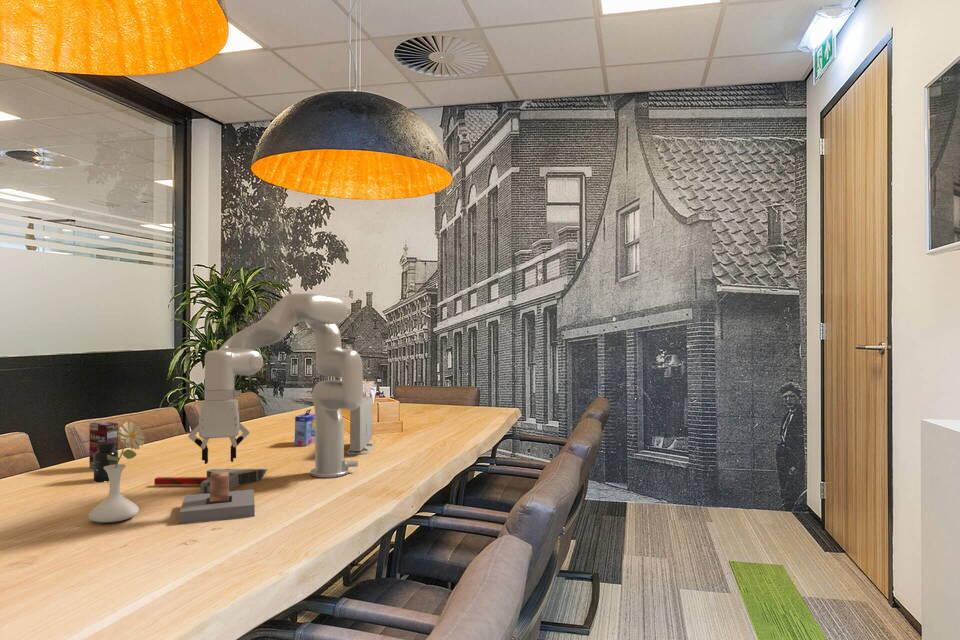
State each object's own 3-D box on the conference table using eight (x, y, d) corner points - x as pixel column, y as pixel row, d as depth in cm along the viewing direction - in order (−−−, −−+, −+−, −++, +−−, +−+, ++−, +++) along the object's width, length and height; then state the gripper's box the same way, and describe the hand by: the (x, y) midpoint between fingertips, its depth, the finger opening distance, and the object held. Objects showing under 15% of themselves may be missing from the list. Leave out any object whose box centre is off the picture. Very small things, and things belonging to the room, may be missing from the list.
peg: (228, 507, 172) (228, 471, 172) (228, 512, 168) (228, 475, 168) (210, 509, 170) (210, 473, 170) (209, 514, 166) (209, 477, 166)
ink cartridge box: (306, 446, 256) (306, 411, 256) (293, 446, 257) (294, 411, 257) (316, 442, 266) (316, 408, 266) (304, 441, 266) (304, 407, 266)
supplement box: (88, 468, 216) (88, 423, 216) (101, 465, 220) (101, 421, 220) (105, 471, 213) (105, 424, 213) (118, 468, 217) (118, 422, 217)
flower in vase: (102, 529, 154) (103, 428, 154) (79, 521, 160) (80, 424, 160) (154, 515, 165) (154, 421, 165) (130, 508, 171) (131, 417, 171)
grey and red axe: (177, 464, 209) (267, 464, 210) (177, 475, 209) (267, 475, 210) (140, 482, 185) (242, 482, 186) (140, 495, 185) (242, 495, 186)
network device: (365, 456, 238) (365, 404, 238) (342, 456, 238) (343, 404, 238) (377, 443, 263) (377, 396, 263) (356, 443, 263) (357, 396, 263)
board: (253, 499, 180) (253, 489, 180) (254, 516, 165) (254, 504, 165) (185, 506, 173) (185, 495, 173) (179, 523, 158) (179, 511, 158)
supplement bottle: (88, 480, 200) (89, 443, 200) (110, 476, 206) (110, 440, 206) (101, 483, 197) (101, 445, 197) (122, 478, 203) (122, 442, 203)
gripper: (253, 393, 176) (252, 456, 176) (185, 395, 169) (185, 461, 169) (253, 396, 169) (253, 462, 168) (183, 398, 162) (183, 467, 162)
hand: (219, 461), depth 169 cm, fingers open, 5 cm apart
